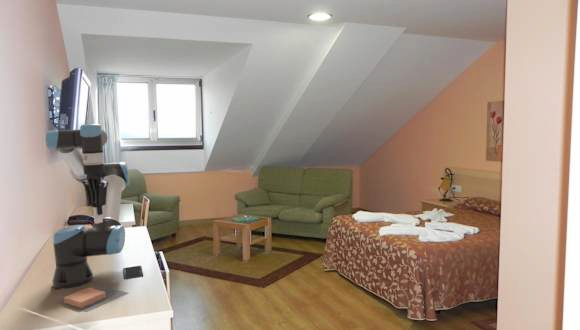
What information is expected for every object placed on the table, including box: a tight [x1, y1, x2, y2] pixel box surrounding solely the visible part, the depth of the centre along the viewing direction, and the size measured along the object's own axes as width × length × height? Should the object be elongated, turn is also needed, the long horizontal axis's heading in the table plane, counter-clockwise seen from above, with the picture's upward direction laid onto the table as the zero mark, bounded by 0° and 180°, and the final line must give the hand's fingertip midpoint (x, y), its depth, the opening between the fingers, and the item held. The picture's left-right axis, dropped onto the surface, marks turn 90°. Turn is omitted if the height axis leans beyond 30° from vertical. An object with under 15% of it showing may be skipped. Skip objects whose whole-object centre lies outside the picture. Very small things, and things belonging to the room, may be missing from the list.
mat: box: [55, 284, 129, 313], centre depth 160 cm, size 18×18×1 cm
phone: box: [122, 265, 144, 280], centre depth 185 cm, size 8×1×15 cm
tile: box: [63, 287, 106, 308], centre depth 157 cm, size 10×2×10 cm
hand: (98, 222), depth 169 cm, fingers closed
